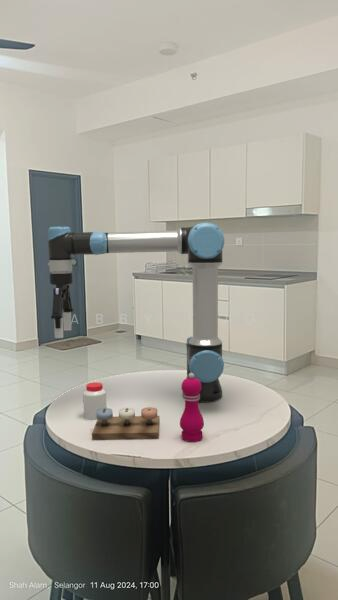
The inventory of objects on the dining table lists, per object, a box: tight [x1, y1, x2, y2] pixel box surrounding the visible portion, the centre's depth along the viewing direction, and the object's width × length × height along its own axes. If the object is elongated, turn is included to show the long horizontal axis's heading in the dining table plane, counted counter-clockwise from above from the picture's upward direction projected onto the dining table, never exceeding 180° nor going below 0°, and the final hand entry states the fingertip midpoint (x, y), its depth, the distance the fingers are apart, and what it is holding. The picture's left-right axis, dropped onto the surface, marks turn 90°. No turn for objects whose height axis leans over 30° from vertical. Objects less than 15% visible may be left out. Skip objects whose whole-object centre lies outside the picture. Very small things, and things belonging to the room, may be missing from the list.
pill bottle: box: [82, 381, 108, 421], centre depth 165 cm, size 8×8×11 cm
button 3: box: [96, 407, 114, 425], centre depth 152 cm, size 5×5×4 cm
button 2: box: [118, 407, 136, 424], centre depth 152 cm, size 5×5×4 cm
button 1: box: [140, 406, 158, 424], centre depth 152 cm, size 5×5×4 cm
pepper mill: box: [179, 373, 205, 443], centre depth 145 cm, size 7×7×20 cm
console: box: [91, 415, 160, 441], centre depth 152 cm, size 20×14×2 cm
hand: (63, 334), depth 168 cm, fingers open, 13 cm apart
